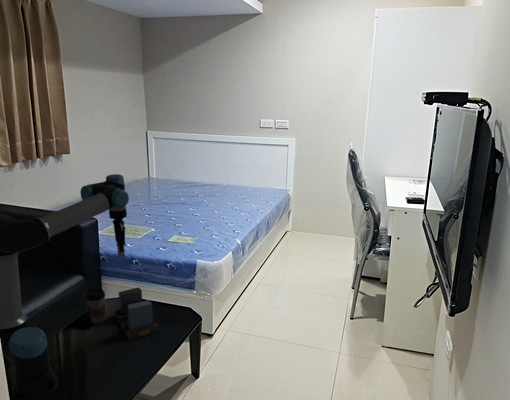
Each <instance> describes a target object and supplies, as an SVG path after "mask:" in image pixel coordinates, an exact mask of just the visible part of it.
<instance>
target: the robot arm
mask: <svg viewBox="0 0 510 400" xmlns="http://www.w3.org/2000/svg"><path fill="white" fill-rule="evenodd" d="M80 198H81V199H82V200H80V201H78V202H75V203H74V204H71V205H68V206H66V207H64V208H61V209H59V210H56V211H54V212H52V213H50V214H47V215H44V216H42V217H37V216H35V217H32V218H29V219H24V220H18V219H16V218H13V217H11V216H10V215H7V214H2V213H0V338H1V343H2V350H3V355H2V356H3V357H4V358H5V359H7V360H8V361H9V362H10V363H11V365H12V369H13V370H12V371H13V376H14V378H13V384H12V388H11V399H12V398H13V399H12V400H46V399H47V398H49V397H50V396H52V395H53V394H54V393H55V392H56V391H57V389H58V387H57V386H59V381H58V378H57V377H58V376H56V374H55V372H54V370H53V369H52V367H51V363H50V356H49V350H48V349H49V348H48V339H47V336H46V333H45V332H44V330H43V329H41V328H39V327H36V326H33V327H31V326H29V322H28V321H29V320H28V315H27V314H26V313H23V306H22V295H21V283H20V273H19V261H18V255H19V254H20V253H22V252H25V251H29V250H32V249H34V248H36V247H40V246H41V245H43V244H45V243H47V242H49V241H50V239H51V238H52V237H54V236H56V235H57V234H60V233H63V232H65V231H67V230H68V229H70V228H72V227H75V226H77V225H79V224H82V223H83V222H85V221H88V220H90V219H92V218H95V217H96V216H99V215H100V214H102V213H105V212H106V211H108V214H109V215H108V216H109V218H110V219H111V220H112V224H113V230H114V237H115V239H114V240H115V242H116V246H117V248H116V249H117V258H118V259H123V258H126V255H125V245H126V226H125V221H123V219H124V218H125V219H126V218H127V216H128V213H127V211H128V210H127V205H128V203H129V200H130V197H129V193H128V192H127V191H126V187H125V178H124V175H122V174H119V173H118V174H117V173H116V174H115V173H114V174H109V175H107V176H106V177H105V181H101V182H96V183H91V184H90V183H89V184H85V185H83V186H82V187H81V188H80Z"/></svg>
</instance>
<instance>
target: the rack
mask: <svg viewBox="0 0 510 400" xmlns="http://www.w3.org/2000/svg"><path fill="white" fill-rule="evenodd" d="M118 301H119V307H118V308H114V316H115V318H116V320H117V322H118V324H119V326H120V327H121V330H122V331H123V333H124V335H125V336H126V338H127V341H128V342H130V341H133V340H138V339H139V338H144V337H147V336H151V335H154V334H158V333H160V325H159V322H158V323H157V322H155V321H154V319H155V318H154V315H152V321H153V324H152V325H148V326H145V327H141V328H138V329H134V330H131V331H130V330H129V325H128V307H127V305H130V304H135V303H139V302H143V292H142V289H141V287H139V286H138V287H134V288H131V289H127V290H123V291H122V290H121V291H119V292H118Z"/></svg>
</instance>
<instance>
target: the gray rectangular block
mask: <svg viewBox="0 0 510 400" xmlns="http://www.w3.org/2000/svg"><path fill="white" fill-rule="evenodd" d="M127 307H128V325H129V330H130V331H131V330H134V329H138V328H141V327H145V326H148V325H152V324H153V321H152V316H153V304H152V302H151V301H150V299H148V300H144V301H143V300H142V302H139V303H135V304H130V305H127Z"/></svg>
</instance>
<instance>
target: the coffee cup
mask: <svg viewBox="0 0 510 400" xmlns="http://www.w3.org/2000/svg"><path fill="white" fill-rule="evenodd" d="M105 293H106V292H105V291H104V290H103V289H102V288H93V289H91V290H89V291H87V293H86V300H87V307H88V311H89V316H90V320H91V323H93V324H95V323H98V324H101V323H103V322H104V321H105V320H106V294H105Z"/></svg>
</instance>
